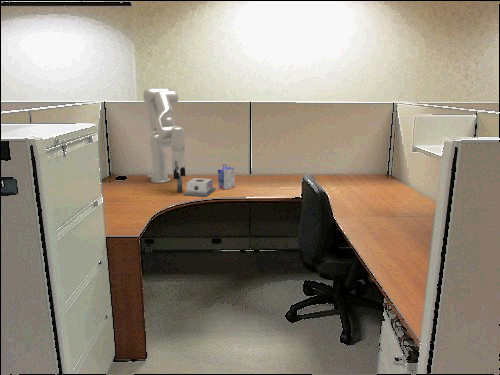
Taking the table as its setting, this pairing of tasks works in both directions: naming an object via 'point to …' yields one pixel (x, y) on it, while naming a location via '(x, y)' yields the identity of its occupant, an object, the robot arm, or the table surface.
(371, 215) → the table surface
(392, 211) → the table surface
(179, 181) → the steel pin
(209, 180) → the block
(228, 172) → the ink cartridge box
